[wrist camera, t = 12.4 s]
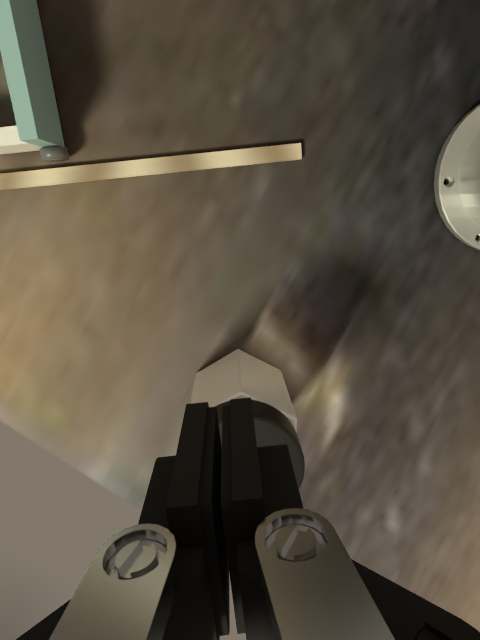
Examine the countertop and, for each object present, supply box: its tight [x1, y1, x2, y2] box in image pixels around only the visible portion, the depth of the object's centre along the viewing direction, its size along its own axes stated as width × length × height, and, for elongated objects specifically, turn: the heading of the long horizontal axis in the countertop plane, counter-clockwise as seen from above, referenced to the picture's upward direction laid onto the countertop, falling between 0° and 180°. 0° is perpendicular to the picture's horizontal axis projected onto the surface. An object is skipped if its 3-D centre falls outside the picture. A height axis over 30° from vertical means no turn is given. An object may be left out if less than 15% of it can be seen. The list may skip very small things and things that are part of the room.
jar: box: [190, 349, 305, 489], centre depth 34 cm, size 9×8×12 cm
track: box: [0, 143, 302, 190], centre depth 32 cm, size 32×20×1 cm, turn 96°
